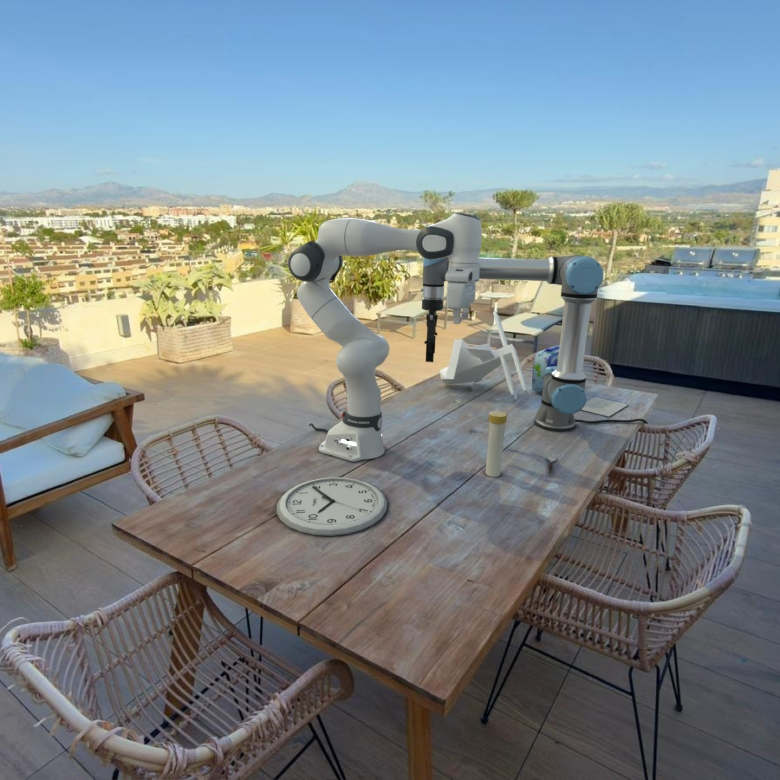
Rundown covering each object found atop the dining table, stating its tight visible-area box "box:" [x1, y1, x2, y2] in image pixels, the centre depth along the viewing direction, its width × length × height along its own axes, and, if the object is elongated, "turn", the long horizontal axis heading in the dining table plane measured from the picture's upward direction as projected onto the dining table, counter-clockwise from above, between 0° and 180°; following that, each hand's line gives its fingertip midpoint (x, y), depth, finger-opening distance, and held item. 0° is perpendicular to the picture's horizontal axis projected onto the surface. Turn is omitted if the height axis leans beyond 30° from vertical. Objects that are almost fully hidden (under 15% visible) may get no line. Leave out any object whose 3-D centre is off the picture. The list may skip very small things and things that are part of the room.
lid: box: [488, 410, 507, 424], centre depth 157 cm, size 5×5×2 cm
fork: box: [547, 449, 557, 475], centre depth 169 cm, size 3×16×2 cm, turn 160°
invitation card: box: [580, 396, 629, 418], centre depth 226 cm, size 21×1×15 cm
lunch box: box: [531, 344, 560, 393], centre depth 245 cm, size 26×11×21 cm, turn 134°
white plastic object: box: [438, 310, 531, 400], centre depth 245 cm, size 37×45×31 cm
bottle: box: [485, 422, 506, 478], centre depth 160 cm, size 5×5×19 cm
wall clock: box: [276, 476, 388, 537], centre depth 142 cm, size 30×2×30 cm
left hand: (460, 321), depth 153 cm, fingers open, 8 cm apart
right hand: (430, 357), depth 190 cm, fingers open, 13 cm apart
